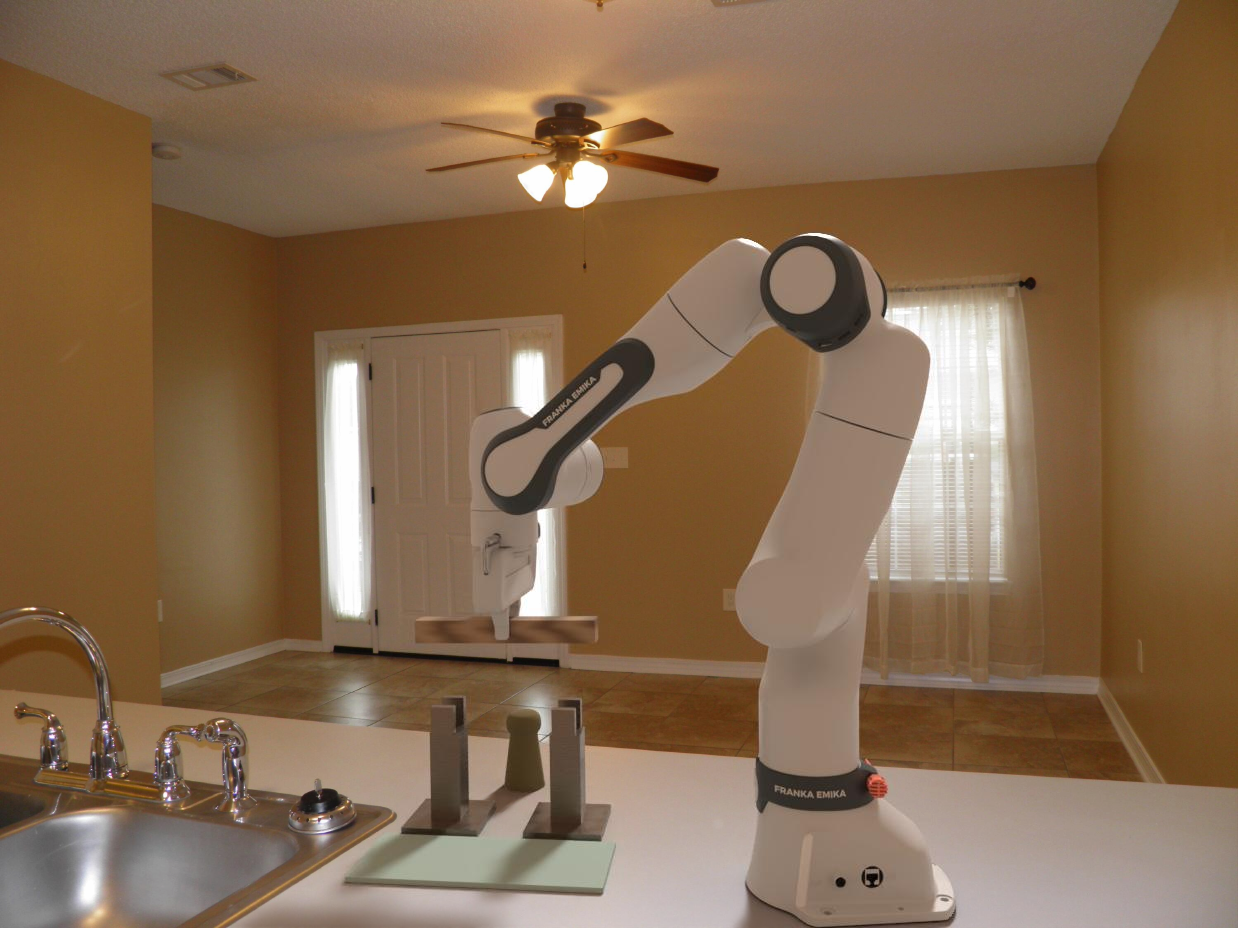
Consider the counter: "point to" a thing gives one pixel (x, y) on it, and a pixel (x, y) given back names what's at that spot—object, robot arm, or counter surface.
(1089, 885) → the counter surface
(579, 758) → the cradle posts
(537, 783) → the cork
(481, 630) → the walnut rail
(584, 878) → the green mat
